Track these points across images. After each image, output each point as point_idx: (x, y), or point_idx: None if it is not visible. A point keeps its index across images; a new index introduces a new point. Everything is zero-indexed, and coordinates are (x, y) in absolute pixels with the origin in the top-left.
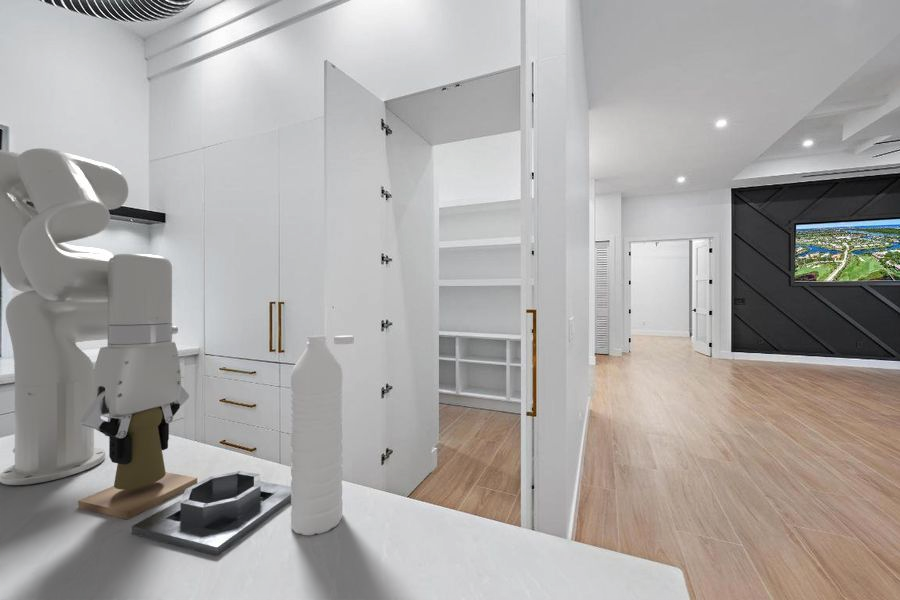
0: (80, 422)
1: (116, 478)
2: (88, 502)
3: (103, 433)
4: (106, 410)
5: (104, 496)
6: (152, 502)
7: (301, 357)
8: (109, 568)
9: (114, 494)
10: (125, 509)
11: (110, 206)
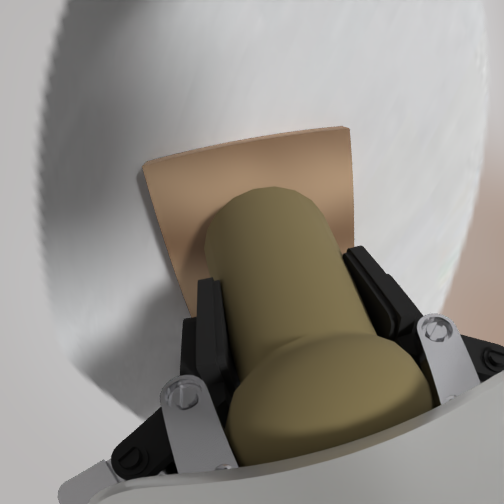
0: (62, 493)
1: (208, 259)
2: (155, 204)
3: (153, 414)
4: (180, 493)
5: (191, 201)
6: None
7: None
8: (146, 396)
9: (210, 213)
10: (196, 314)
11: None
